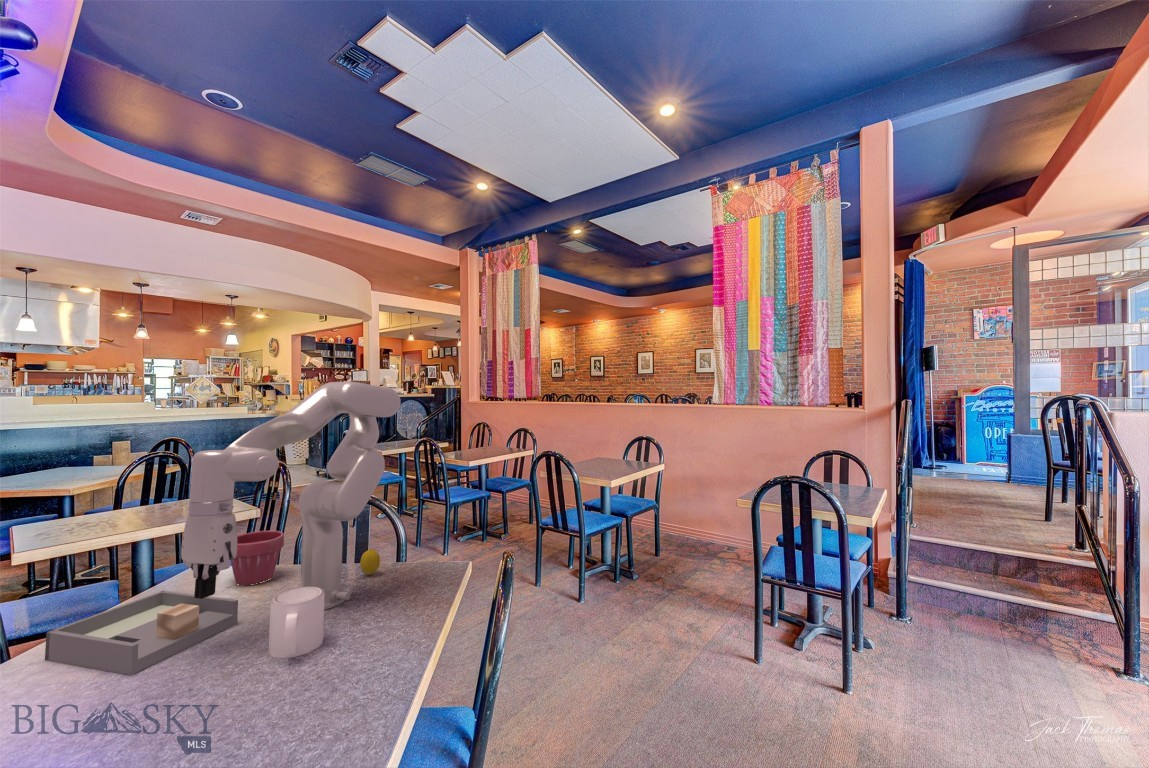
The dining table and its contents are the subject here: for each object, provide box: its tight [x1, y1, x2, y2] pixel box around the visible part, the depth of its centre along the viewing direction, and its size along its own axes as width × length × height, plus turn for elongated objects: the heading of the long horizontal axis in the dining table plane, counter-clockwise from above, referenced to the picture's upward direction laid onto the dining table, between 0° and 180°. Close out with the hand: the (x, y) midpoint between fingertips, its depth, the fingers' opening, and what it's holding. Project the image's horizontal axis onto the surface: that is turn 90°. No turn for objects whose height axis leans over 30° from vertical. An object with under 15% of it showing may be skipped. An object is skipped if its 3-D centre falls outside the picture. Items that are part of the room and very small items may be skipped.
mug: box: [268, 586, 325, 659], centre depth 100 cm, size 14×10×11 cm
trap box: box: [44, 590, 239, 676], centre depth 103 cm, size 23×22×6 cm
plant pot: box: [230, 530, 285, 586], centre depth 139 cm, size 14×14×13 cm
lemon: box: [359, 548, 381, 575], centre depth 143 cm, size 6×6×8 cm
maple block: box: [156, 604, 199, 640], centre depth 102 cm, size 5×5×5 cm
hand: (204, 596), depth 99 cm, fingers closed
